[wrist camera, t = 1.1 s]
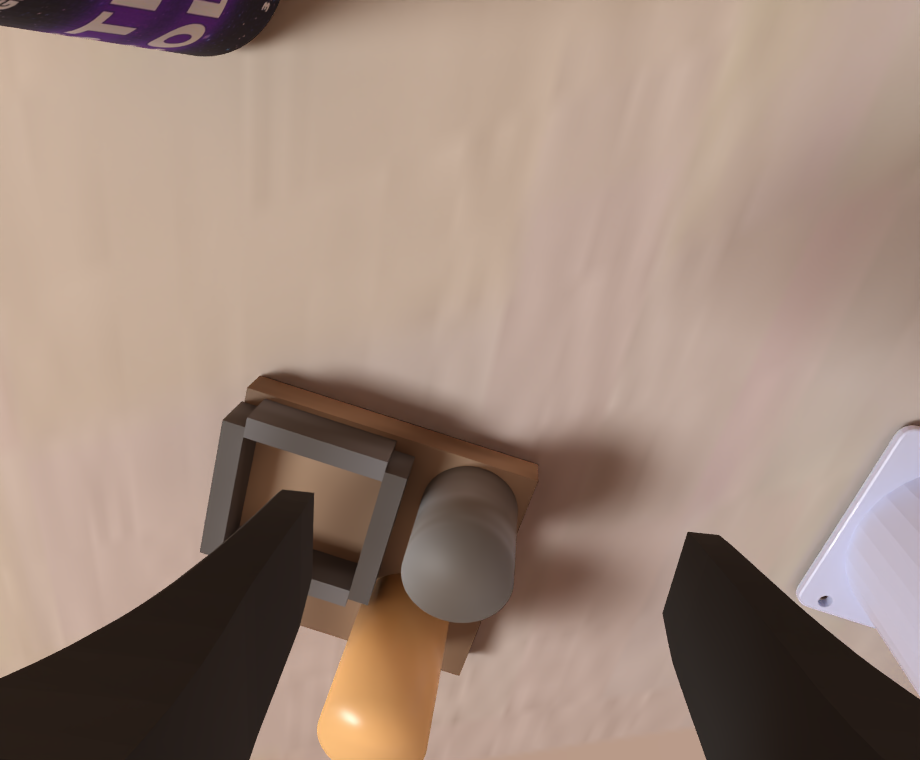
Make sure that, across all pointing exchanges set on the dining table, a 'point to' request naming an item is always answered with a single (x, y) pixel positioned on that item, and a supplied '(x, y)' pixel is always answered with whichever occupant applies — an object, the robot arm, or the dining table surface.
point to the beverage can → (147, 22)
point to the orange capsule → (385, 680)
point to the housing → (376, 507)
